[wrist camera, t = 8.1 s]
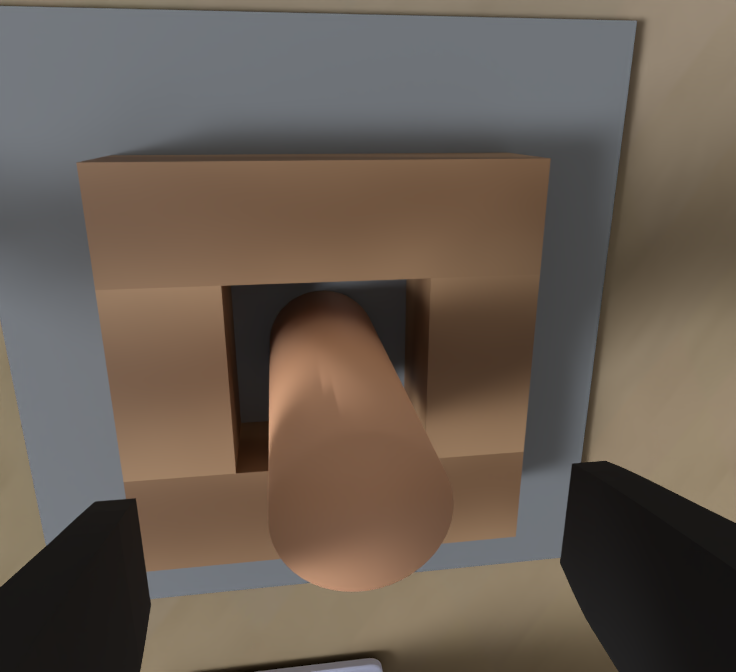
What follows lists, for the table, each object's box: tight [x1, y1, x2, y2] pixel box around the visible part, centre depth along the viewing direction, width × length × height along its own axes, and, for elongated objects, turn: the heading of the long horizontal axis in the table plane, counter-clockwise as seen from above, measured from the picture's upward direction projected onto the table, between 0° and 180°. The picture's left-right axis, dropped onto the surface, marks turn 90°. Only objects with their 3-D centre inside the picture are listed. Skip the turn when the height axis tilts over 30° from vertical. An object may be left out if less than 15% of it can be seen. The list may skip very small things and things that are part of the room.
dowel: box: [268, 291, 454, 592], centre depth 15 cm, size 3×3×9 cm
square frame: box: [76, 153, 551, 572], centre depth 18 cm, size 11×11×3 cm
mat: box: [0, 6, 637, 599], centre depth 19 cm, size 18×18×1 cm
